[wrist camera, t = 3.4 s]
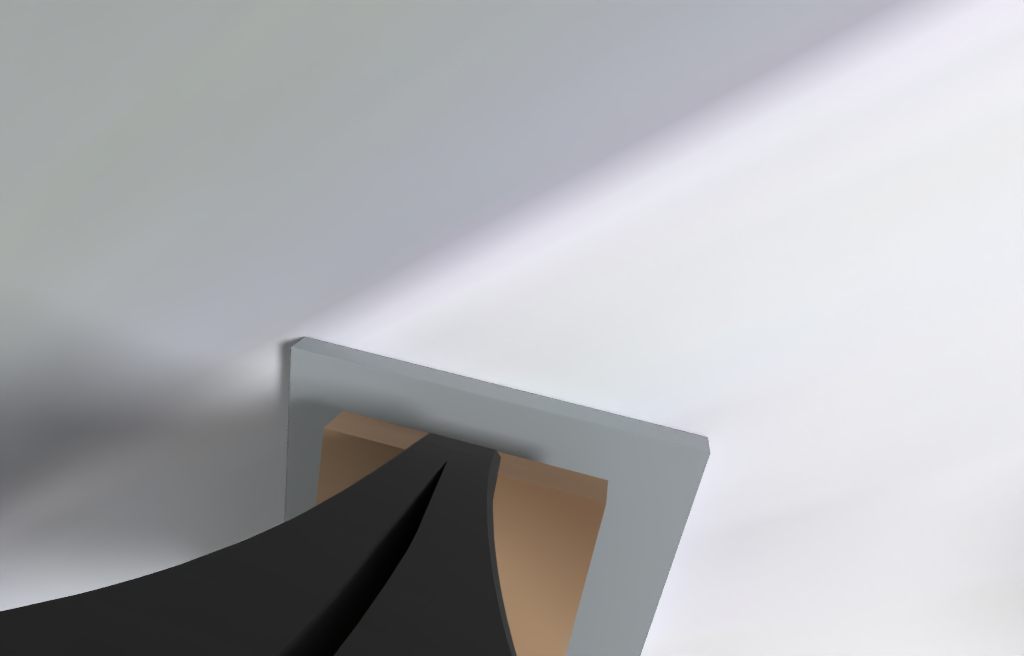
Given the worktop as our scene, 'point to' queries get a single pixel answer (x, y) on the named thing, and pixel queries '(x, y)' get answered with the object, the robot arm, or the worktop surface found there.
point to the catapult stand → (531, 435)
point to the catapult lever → (500, 525)
